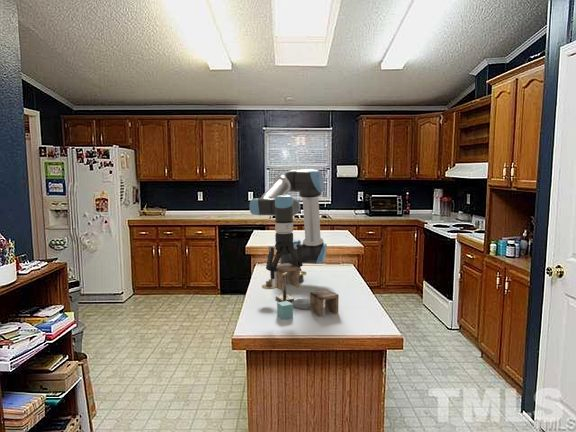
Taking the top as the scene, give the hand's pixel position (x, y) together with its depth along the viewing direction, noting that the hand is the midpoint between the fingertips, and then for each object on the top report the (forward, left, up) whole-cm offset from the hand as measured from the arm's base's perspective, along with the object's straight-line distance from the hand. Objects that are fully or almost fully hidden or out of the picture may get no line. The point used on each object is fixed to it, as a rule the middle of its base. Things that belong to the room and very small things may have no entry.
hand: (284, 284), depth 170 cm
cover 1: (0, 0, -1) cm, 1 cm away
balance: (-20, +10, -14) cm, 26 cm away
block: (0, 0, -14) cm, 14 cm away
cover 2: (+3, +18, -14) cm, 23 cm away
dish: (-9, +15, -14) cm, 22 cm away
